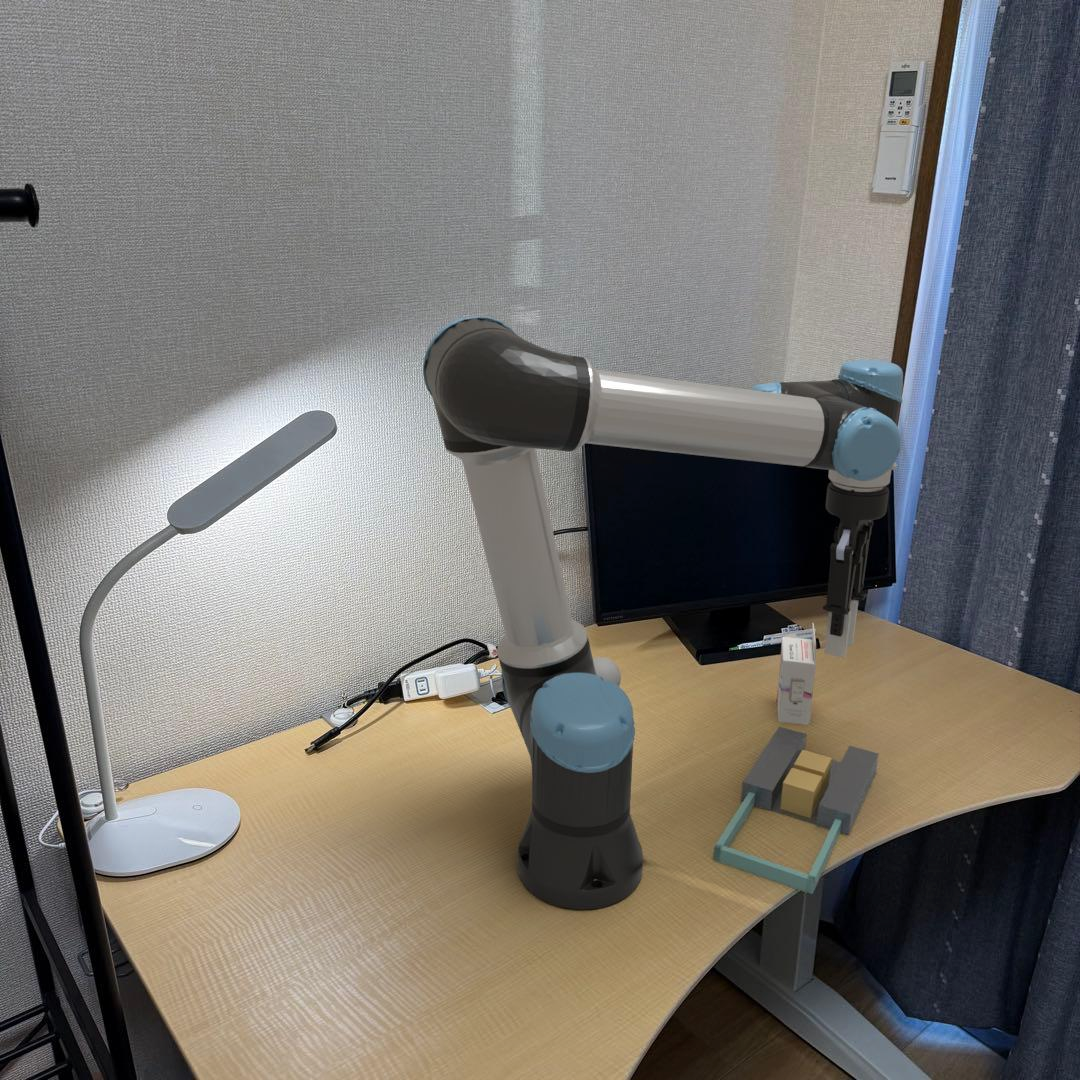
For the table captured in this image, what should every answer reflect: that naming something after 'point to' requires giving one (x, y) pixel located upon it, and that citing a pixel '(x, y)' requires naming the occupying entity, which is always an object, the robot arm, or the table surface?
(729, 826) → the teal u-shaped bar frame
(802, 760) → the beige wooden block
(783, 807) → the tan wooden cube
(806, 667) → the ink cartridge box
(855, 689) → the table surface
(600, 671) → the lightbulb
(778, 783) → the slot board
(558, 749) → the robot arm
